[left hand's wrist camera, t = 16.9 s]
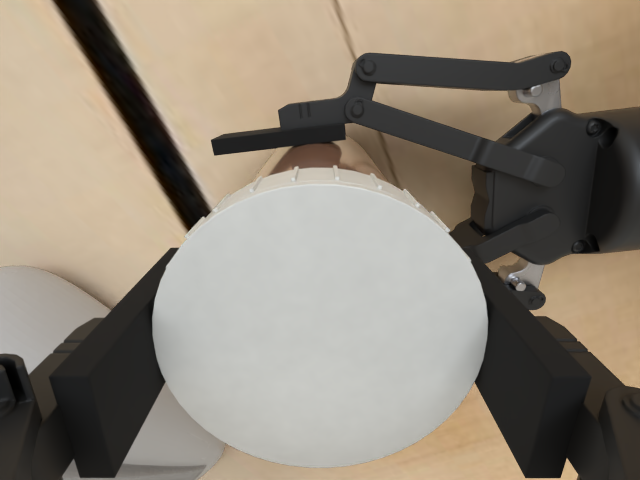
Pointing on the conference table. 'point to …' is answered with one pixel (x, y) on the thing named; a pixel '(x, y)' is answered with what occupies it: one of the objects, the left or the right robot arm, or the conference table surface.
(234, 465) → the conference table surface
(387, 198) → the lid
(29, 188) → the conference table surface
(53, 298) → the projector
